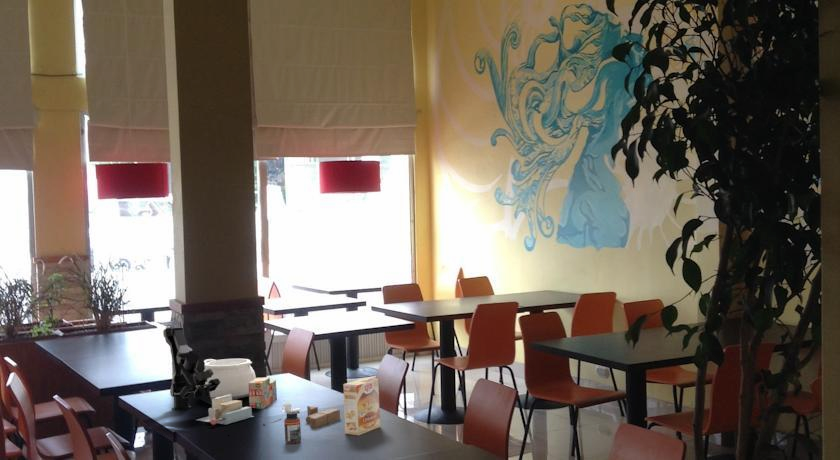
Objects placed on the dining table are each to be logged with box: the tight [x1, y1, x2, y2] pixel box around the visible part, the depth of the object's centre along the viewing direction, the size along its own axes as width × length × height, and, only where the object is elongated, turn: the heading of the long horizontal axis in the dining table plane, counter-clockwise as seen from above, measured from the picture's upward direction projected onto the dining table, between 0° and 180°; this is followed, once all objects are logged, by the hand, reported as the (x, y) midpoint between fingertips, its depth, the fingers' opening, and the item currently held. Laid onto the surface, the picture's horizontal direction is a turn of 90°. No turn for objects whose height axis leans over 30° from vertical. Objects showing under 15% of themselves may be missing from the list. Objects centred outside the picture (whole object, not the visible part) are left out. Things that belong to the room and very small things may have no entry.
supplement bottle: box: [283, 411, 302, 445], centre depth 325 cm, size 6×6×11 cm
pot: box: [203, 358, 257, 400], centre depth 420 cm, size 29×26×17 cm
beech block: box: [219, 399, 243, 418], centre depth 364 cm, size 4×9×7 cm, turn 145°
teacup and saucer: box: [281, 402, 301, 413], centre depth 377 cm, size 9×8×4 cm
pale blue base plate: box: [196, 406, 255, 426], centre depth 364 cm, size 19×22×5 cm
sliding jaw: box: [208, 394, 233, 421], centre depth 367 cm, size 4×14×9 cm, turn 145°
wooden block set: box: [305, 405, 341, 429], centre depth 357 cm, size 17×6×18 cm
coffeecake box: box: [342, 377, 381, 436], centre depth 339 cm, size 15×7×20 cm, turn 148°
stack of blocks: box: [248, 376, 278, 410], centre depth 397 cm, size 21×6×12 cm, turn 172°
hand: (210, 403), depth 372 cm, fingers closed
